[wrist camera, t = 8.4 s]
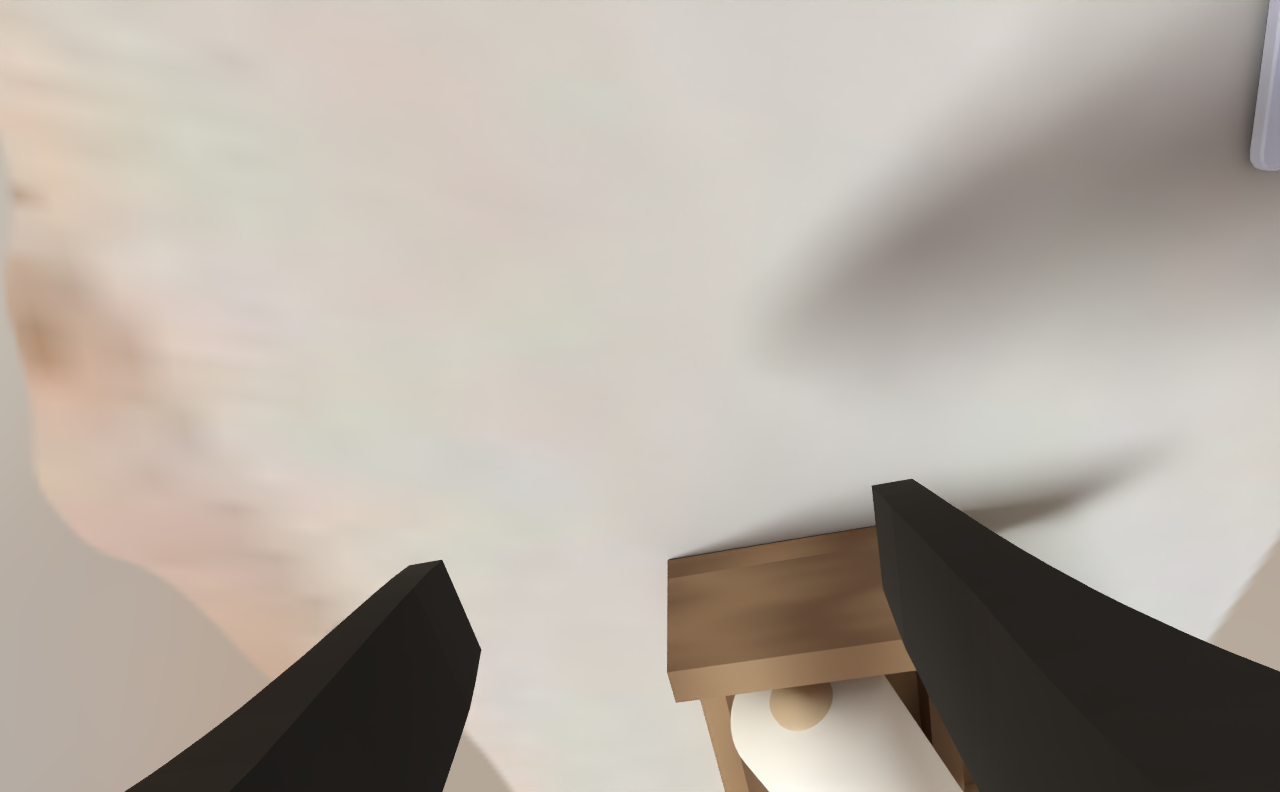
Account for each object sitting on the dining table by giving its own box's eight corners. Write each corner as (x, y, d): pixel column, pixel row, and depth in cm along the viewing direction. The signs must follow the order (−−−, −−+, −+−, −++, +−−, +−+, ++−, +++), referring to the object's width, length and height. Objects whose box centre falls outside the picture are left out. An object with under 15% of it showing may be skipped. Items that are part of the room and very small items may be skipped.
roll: (838, 602, 21) (911, 722, 17) (939, 750, 24) (1025, 891, 19) (713, 675, 22) (749, 811, 17) (825, 812, 24) (882, 964, 20)
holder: (958, 512, 21) (1038, 620, 17) (971, 779, 26) (1035, 918, 22) (667, 560, 22) (667, 672, 18) (733, 805, 27) (745, 942, 23)
